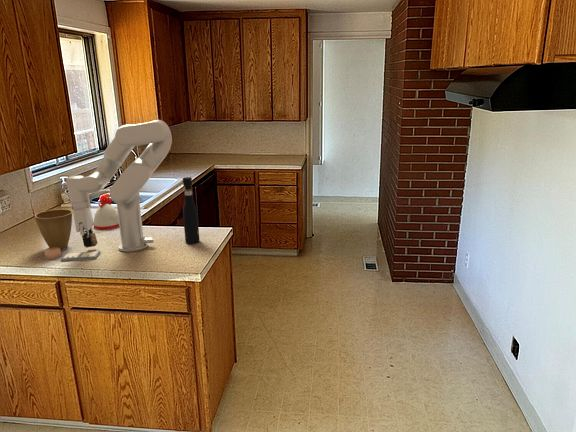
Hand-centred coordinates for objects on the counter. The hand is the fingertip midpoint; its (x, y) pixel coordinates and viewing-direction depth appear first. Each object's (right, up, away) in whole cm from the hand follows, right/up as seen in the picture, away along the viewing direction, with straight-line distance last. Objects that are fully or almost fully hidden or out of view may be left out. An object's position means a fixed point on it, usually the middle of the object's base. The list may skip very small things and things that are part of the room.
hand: (89, 244), depth 201 cm
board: (0, -5, -8) cm, 9 cm away
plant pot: (-16, -2, +6) cm, 17 cm away
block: (+1, -1, 0) cm, 1 cm away
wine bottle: (+44, 0, +8) cm, 45 cm away
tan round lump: (-13, -5, -6) cm, 15 cm away
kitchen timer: (-6, +7, +37) cm, 38 cm away
